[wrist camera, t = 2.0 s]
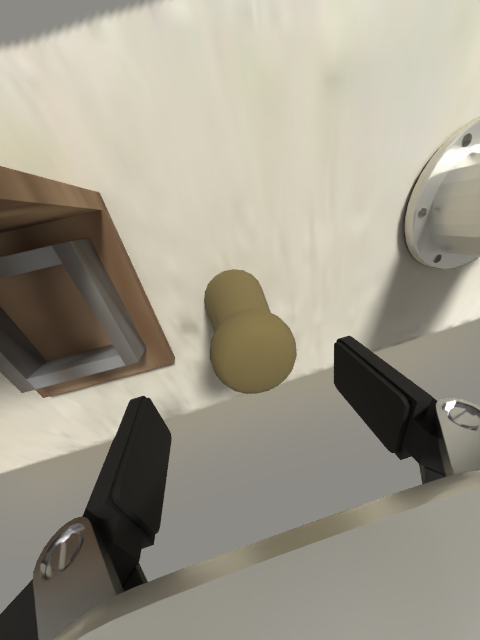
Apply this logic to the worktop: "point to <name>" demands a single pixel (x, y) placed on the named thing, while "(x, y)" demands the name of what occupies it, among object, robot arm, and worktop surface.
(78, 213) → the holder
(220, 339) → the cork
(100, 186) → the worktop surface
